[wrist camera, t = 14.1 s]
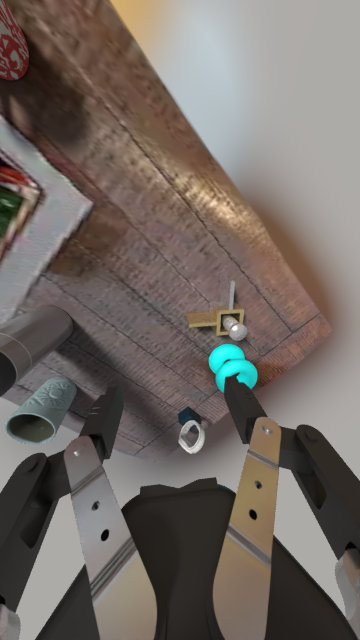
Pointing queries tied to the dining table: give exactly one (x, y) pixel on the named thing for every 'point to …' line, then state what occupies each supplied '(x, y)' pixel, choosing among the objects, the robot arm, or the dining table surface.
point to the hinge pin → (233, 327)
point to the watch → (189, 423)
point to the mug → (11, 46)
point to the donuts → (231, 365)
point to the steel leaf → (225, 295)
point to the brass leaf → (215, 318)
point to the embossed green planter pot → (42, 412)
